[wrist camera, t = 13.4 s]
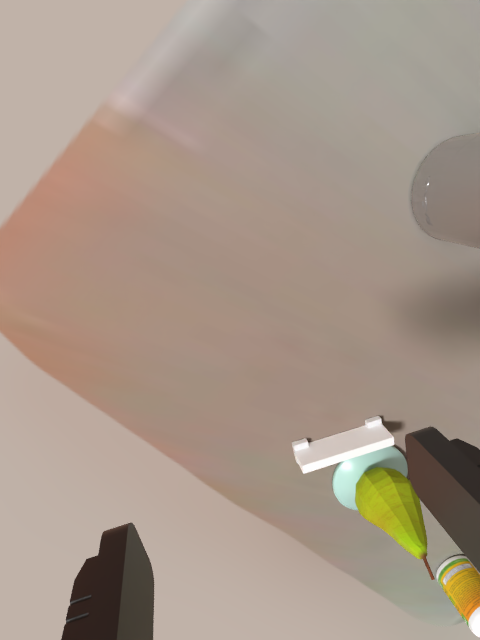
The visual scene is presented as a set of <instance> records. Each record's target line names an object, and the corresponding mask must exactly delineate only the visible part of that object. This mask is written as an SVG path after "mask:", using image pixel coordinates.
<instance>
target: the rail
mask: <svg viewBox="0 0 480 640" xmlns="http://www.w3.org/2000/svg"><path fill="white" fill-rule="evenodd" d="M292 445H293V450H294V455H295V459H296V462H297V464H298V463H299V465H300V467H301V470H302V472H303V474H304V473H307V472H310V471H314V470H317V469H320V468H323V467H326V466H329V465H332V464H336V463H339V462H342V461H345V460H348V459H351V458H354V457H358V456H361V455H364V454H367V453H370V452H373V451H376V450H380V449H383V448H386V447H389V446H392V445H394V437H393V436H392V435H391V434H390V432H389V431H388V430H387V429H386V428H385V427H384V426H383V425H382V421H381V418H380V417H379V416H376V417H373V418H369V419H366V420H365V425H364V426H361V427H358V428H355V429H351V430H348V431H345V432H342V433H339V434H335V435H332V436H329V437H326V438H322V439H319V440H316V441H313V442H310V443H308V441H307V439H306V438H305V439H302V440H298V441H295V442H292Z"/></svg>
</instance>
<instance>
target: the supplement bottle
mask: <svg viewBox="0 0 480 640" xmlns="http://www.w3.org/2000/svg"><path fill="white" fill-rule="evenodd" d="M436 578H437V581H438V583H439V584H440V586H441V587H442V589H443V590H444V592H445V593H446V594H447V596H448V597H449V599H450V600H451V602H452V603H453V605H454V606H455V607H456V609H457V610H458V612H459V613H460V615H461V616H462V618H463V619H464V621H465V622H466V623H467V625H468V627H469V628H470V629H471V631H472V632H473V633H474V634H475V635H476V636H477V637H480V573H479V572H478V570H477V569H476V568H475V567H474V565H473V564H472V563H471V562H470V560H469V559H468V558H467V557H466V556H461V555H460V556H454V557H451V558H449V559H447V560H446V561H444V562H443V563H442V564H441V565H440V567H439V568H438V570H437V573H436Z"/></svg>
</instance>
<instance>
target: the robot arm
mask: <svg viewBox="0 0 480 640" xmlns="http://www.w3.org/2000/svg"><path fill="white" fill-rule="evenodd" d="M412 207H413V213H414V215H415V218H416V220H417V222H418V224H419V225H420V227H421V228H422V229H423V230H424V231H425V232H426V233H427V234H428V235H430V236H432V237H434V238H436V239H440V240H444V241H449V242H453V243H458V244H462V245H467V246H471V247H475V248H480V133H475V134H468V135H462V136H458V137H453V138H451V139H449V140H446V141H444V142H442V143H441V144H440V145H438V146H437V147H436V148H434V149H433V150H432V151H431V152H430V154H429V155H428V156H427V157H426V158H425V159H424V161H423V163H422V164H421V166H420V168H419V169H418V172H417V174H416V177H415V179H414V184H413V188H412ZM405 444H406V454H407V465H408V474H409V479H410V482H411V485H412V487H413V489H414V491H415V493H416V494H417V496H418V497H419V498H420V500H421V501H422V502H423V503H424V505H425V506H426V507H427V508H428V510H429V511H430V512H431V513H432V515H433V516H434V517H435V518H436V520H437V521H438V522H439V523H440V525H441V526H442V527H443V528H444V529H445V531H446V532H447V533H448V534H449V536H450V537H451V538H452V539H453V541H454V542H455V543H456V544H457V546H458V547H459V548H460V549H461V551H462V552H463V553H464V554H465V555H466V557H467V558H468V559H469V560H470V562H471V563H472V564H473V565H474V567H475V568H476V569H477V570H478V572H479V573H480V450H479V449H478V448H477V447H475V446H473V445H470V444H468V443H466V442H464V441H462V440H459V439H454V440H451V441H449V440H448V439H447V438H446V437H444V436H443V435H442V434H441V433H440V432H439V431H438V430H437V429H435V428H434V427H428V428H424V429H421V430H418V431H415V432H412V433H409V434H407V435H406V436H405ZM153 615H154V578H153V571H152V567H151V563H150V560H149V558H148V555H147V553H146V551H145V549H144V546H143V544H142V542H141V539H140V537H139V535H138V533H137V530H136V528H135V526H134V525H133V523H128V524H125V525H122V526H119V527H116V528H113V529H110V530H107V531H104V532H103V534H102V537H101V542H100V548H99V554H98V556H95V557H92V558H89V559H86V561H85V563H84V565H83V567H82V568H81V570H80V572H79V573H78V575H77V577H76V579H75V581H74V585H73V590H72V594H71V599H70V606H69V608H68V613H67V617H66V624H65V626H64V631H63V635H62V639H61V640H153Z"/></svg>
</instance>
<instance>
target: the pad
mask: <svg viewBox="0 0 480 640" xmlns="http://www.w3.org/2000/svg"><path fill="white" fill-rule="evenodd" d="M376 467H383V468H391V469H396V470H397V471H399V472H401V473H402V474H403V475H404V476H405V477H406V478H407V473H408V466H407V462H406V459H405V458H404V456H403V455H402V454H401V452H400V451H399V450H398V449H397V448H396V447H394V446H389V447H386V448H383V449H380V450H376V451H373V452H370V453H367V454H364V455H361V456H358V457H354V458H351V459H348V460H345V461H342V462H339V464H338V465H337V467H336V469H335V471H334V474H333V478H332V488H333V491H334V493H335V495H336V497H337V499H338V500H339V502H340V503H341V504H343V505H344V506H346V507H348V508H350V509H353V510H358V508H357V506H356V503H355V493H356V483H357V482H358V480H359V479H360V477H361V476H362V474H363V473H364V472H366V471H369V470H371V469H373V468H376Z"/></svg>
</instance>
